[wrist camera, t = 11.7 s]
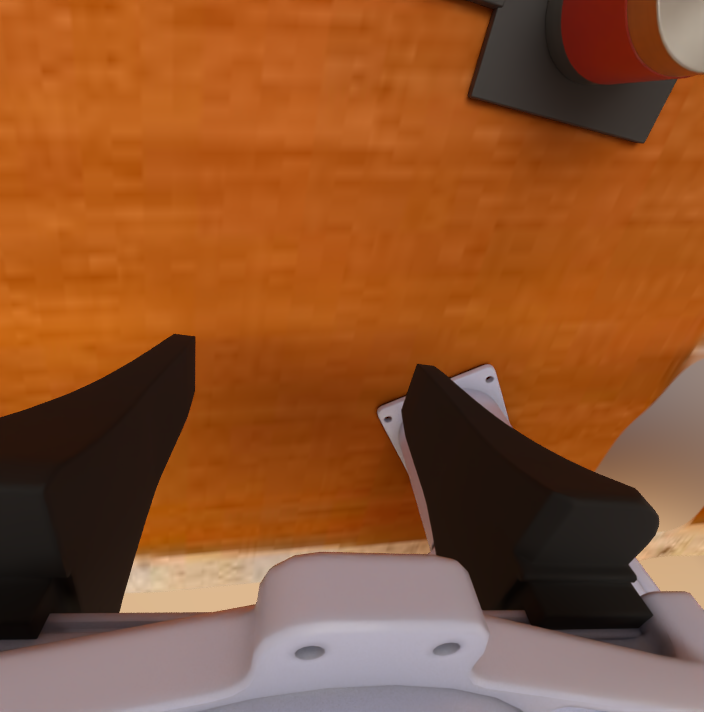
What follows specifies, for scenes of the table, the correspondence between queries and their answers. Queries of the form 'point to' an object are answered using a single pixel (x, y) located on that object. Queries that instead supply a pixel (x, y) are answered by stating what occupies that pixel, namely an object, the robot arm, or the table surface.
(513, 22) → the spatula
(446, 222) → the table surface
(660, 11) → the tin
